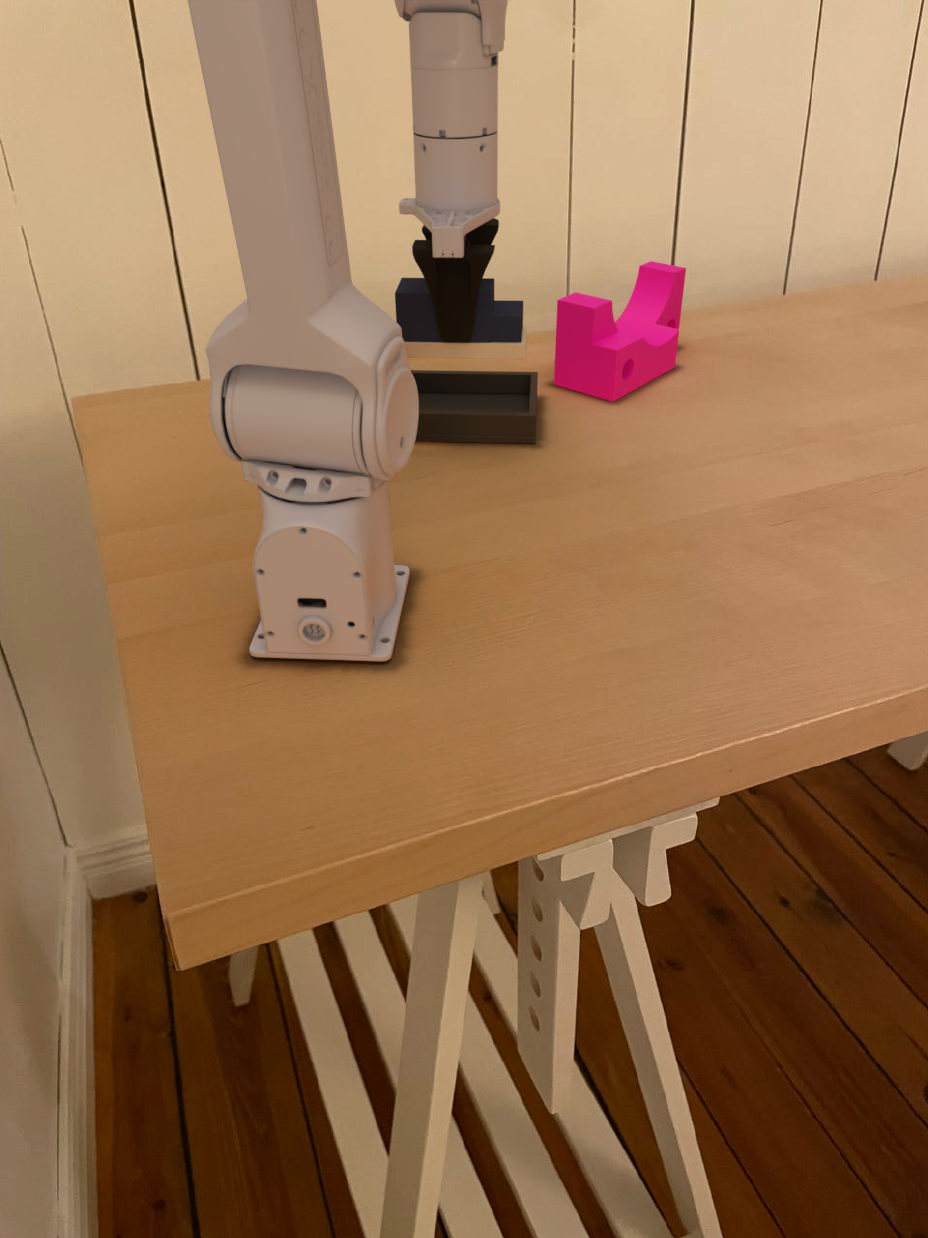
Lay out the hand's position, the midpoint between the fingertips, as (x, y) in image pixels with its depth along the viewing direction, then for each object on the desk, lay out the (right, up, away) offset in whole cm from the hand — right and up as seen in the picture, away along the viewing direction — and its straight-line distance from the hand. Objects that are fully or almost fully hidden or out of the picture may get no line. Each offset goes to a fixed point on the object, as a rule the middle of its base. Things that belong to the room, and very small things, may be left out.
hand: (458, 330), depth 73 cm
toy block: (+16, +1, +16) cm, 23 cm away
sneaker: (0, -1, +1) cm, 1 cm away
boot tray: (-1, -5, +8) cm, 9 cm away
